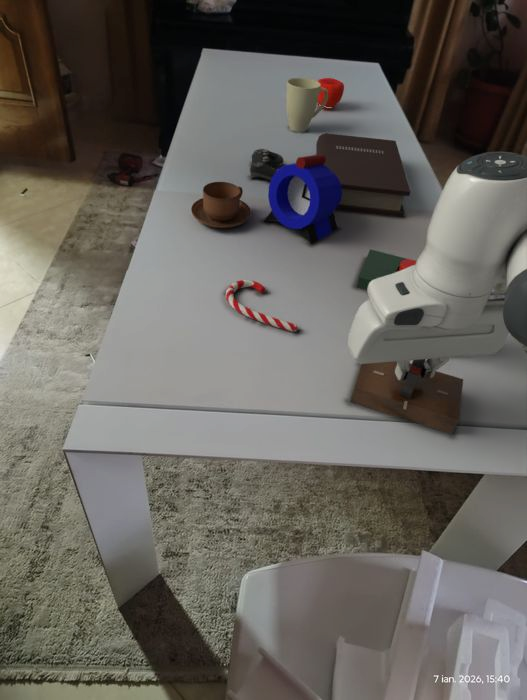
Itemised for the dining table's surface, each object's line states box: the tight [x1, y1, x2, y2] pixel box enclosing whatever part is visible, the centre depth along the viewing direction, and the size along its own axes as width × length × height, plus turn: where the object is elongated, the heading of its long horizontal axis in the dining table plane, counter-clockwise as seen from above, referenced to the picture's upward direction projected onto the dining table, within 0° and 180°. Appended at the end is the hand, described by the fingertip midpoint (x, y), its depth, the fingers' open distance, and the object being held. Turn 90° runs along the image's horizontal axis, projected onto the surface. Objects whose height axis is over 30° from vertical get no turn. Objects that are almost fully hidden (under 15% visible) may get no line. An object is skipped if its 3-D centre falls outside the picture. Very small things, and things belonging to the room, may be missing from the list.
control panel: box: [350, 362, 464, 435], centre depth 71 cm, size 14×10×3 cm
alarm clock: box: [264, 154, 342, 245], centre depth 100 cm, size 12×12×15 cm
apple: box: [316, 77, 345, 111], centre depth 156 cm, size 9×9×8 cm
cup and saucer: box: [191, 181, 252, 229], centre depth 102 cm, size 12×12×6 cm
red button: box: [399, 258, 417, 271], centre depth 88 cm, size 4×4×2 cm
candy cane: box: [225, 279, 298, 333], centre depth 83 cm, size 8×1×15 cm
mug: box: [285, 77, 328, 133], centre depth 140 cm, size 11×10×12 cm
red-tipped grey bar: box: [400, 359, 427, 399], centre depth 68 cm, size 6×1×5 cm, turn 153°
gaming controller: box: [249, 148, 284, 182], centre depth 120 cm, size 12×8×5 cm, turn 178°
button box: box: [356, 249, 407, 291], centre depth 91 cm, size 12×10×4 cm
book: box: [315, 132, 412, 218], centre depth 119 cm, size 28×20×6 cm
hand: (413, 375), depth 69 cm, fingers closed on red-tipped grey bar, 2 cm apart
